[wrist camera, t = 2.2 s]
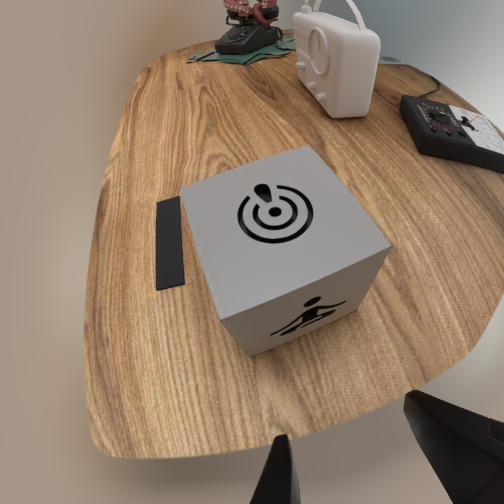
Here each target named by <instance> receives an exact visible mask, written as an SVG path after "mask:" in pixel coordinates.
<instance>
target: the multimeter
mask: <svg viewBox="0 0 504 504" xmlns="http://www.w3.org/2000/svg"><path fill="white" fill-rule="evenodd" d="M400 112H401V114H402V116H403V118H404V120H405V122H406V124H407V126H408V128H409V130H410V132H411V134H412V136H413V138H414V140H415V142H416V145H417V147H418V149H419V151H420V152H421V153H423V154H427V155H432V156H437V157H442V158H447V159H451V160H456V161H460V162H464V163H469V164H473V165H476V166H480V167H484V168H488V169H491V170H495V171H498V172H501V173H504V141H503V140H502V139H501V137H500V136H499V134H498V133H497V132H496V130H495V129H494V128H493V126H492V125H491V124H490V123H489V121H488V120H487V119H486V118H485V117H484V116H482V115H479V114H476V113H473V112H470V111H467V110H464V109H461V108H457V107H454V106H451V105H447V104H443V103H439V102H435V101H431V100H427V99H423V98H418V97H414V96H409V95H403V96H402V98H401V102H400Z"/></svg>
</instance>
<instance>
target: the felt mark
mask: <svg viewBox="0 0 504 504" xmlns="http://www.w3.org/2000/svg"><path fill="white" fill-rule="evenodd" d="M183 284H185V281H184V268H183V254H182V237H181V216H180V196H177V197H174V198H170V199H167V200H164V201H160V202H157V213H156V290H161V289H166V288H170V287H174V286H179V285H183Z"/></svg>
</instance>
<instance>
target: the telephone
mask: <svg viewBox="0 0 504 504" xmlns="http://www.w3.org/2000/svg"><path fill="white" fill-rule="evenodd" d="M257 1H259V3H258V4H255V5H254V7H253V8H251V7H248V6H249V5H248V4H249V1H248V0H224V1H223V5H224V7H225V8H227V14H228V16H227V18H226V21H227V20H228V19H229V18H228V17H230V19H232V20H237V21H239V22H240V25H239V24H231V25H232V26H234V25H235V26H234V27H232V28H231V29H230V30H229V31H228V32H226V33H225V34H224V35H223V36H222V37H221V38H220V39H219V40H218V41H217V43H216V44H215V49H214V50H209V51H207V52H205V53H204V51H201V52H199V53H197V54H195V55H192V56H190V57H188V58H190V59H193V58H194V57H195V58H194V60H196V59H198V58H201V57H203V56H205V55H207V54H210V53H212V52H215V53H214V54H212V55H210V56H208V57H206V58H204V59H202V60H217V59H218V61H225V62H234V63H238V60H240V61H239V63H242V64H244V63H245V62H246V61H248V60H249V59H251V58H252V57H254V56H255V55H257V54H261V55H258V56H257V57H255V58H254V59H252V60H251V61H250V62H248V63H247V64H249V63H251V62H254V61H256V60H258V59H261V58H264V57H268V56H267V55H264V54H273V55H281V54H286V53H288V52H290V51H286V50H281V49H278V48H277V47H275V46H277V45H279V46H278V47H279V48H283V49H285V48H287V49H294V50H296V46H295V40H293V39H295V38H294V37H283V35H285V36H289V34H288V35H286V34H283V33H282V31H281V29H280V28H278V27H277V28H276V27H273V26H271V27H270V23H272V22H273V21H277V20H278V19H274V18H276V17H278V13H279V8H278V6H277V0H257ZM262 13H263V14H262ZM254 22H255V23H254ZM226 24H228V25H229V23H228V21H227V23H226ZM271 28H273V29H271ZM277 29H278V31H279V33H280V35H278V32H277ZM292 35H294V34H292ZM278 36H279V37H278ZM290 40H293V41H290ZM288 41H290V42H288ZM202 53H203V54H202ZM223 59H228V60H223ZM190 61H192V60H189V61H186V62H190ZM247 64H245V65H247ZM245 65H244V66H245Z"/></svg>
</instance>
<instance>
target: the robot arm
mask: <svg viewBox="0 0 504 504" xmlns="http://www.w3.org/2000/svg"><path fill="white" fill-rule="evenodd" d="M404 413H405V415H406V418H407V420H408V422H409V424H410V427H411V429H412V431H413V433H414V435H415V437H416V440H417V442H418V444H419V446H420V448H421V449H422V451H423V452H424V454H425V456H426V457H427V459H428V461H429V463H430V464H431V466H432V468H433V469H434V471H435V473H436V474H437V476H438V478H439V479H440V481H441V483H442V485H443V486H444V488H445V490H446V492H447V493H448V495H449V497H450V499H451V500H452V502H453V504H504V423H503V422H500V421H497V420H494V419H491V418H489V419H488V417H485V416H482V415H480V414H477V413H474V412H472V411H469V410H466V409H464V408H461V407H458V406H456V405H453V404H450V403H448V402H446V401H443V400H440V399H438V398H436V397H433V396H431V395H428V394H426V393H424V392H421V391H419V390H412V391H410V392H408V393H407V394H406V395H405V401H404ZM250 504H301V503H300V489H299V481H298V476H297V472H296V467H295V463H294V458H293V454H292V450H291V446H290V442H289V438H288V435H287V434H283V435H278V436H276V437H275V438H274V441H273V444H272V447H271V450H270V452H269V455H268V458H267V461H266V464H265V466H264V469H263V471H262V474H261V477H260V480H259V482H258V485H257V487H256V489H255V492H254V495H253V497H252V499H251V502H250Z"/></svg>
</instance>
